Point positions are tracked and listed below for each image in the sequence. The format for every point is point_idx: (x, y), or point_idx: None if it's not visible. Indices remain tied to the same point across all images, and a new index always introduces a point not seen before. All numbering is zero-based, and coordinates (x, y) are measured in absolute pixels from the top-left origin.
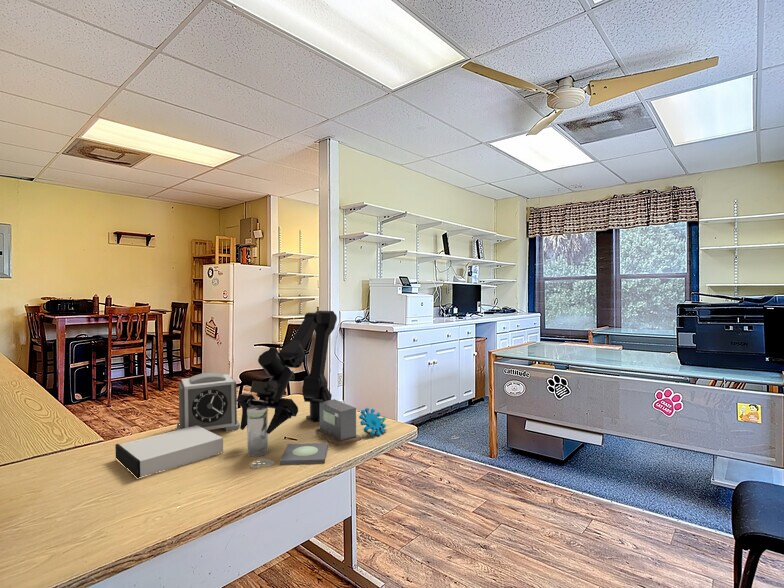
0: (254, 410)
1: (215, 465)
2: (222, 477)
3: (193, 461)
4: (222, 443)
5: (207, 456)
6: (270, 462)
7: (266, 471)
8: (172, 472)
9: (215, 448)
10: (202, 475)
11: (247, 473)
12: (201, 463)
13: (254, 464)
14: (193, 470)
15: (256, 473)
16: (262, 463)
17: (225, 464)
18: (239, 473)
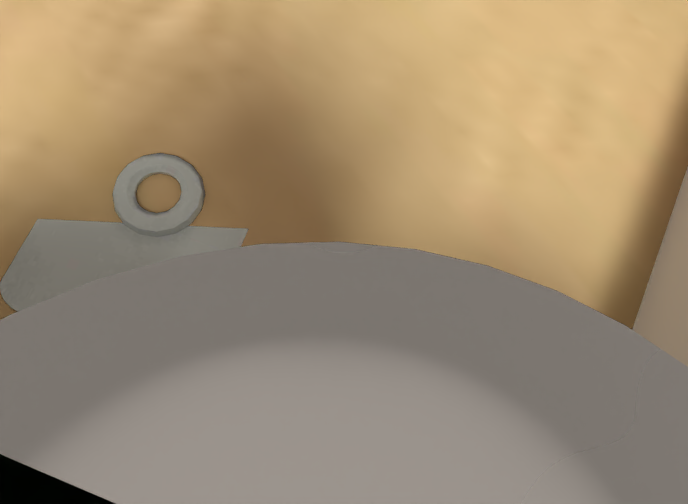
0: (241, 385)
1: (484, 156)
2: (307, 3)
3: (684, 182)
4: None
5: (658, 273)
6: (49, 291)
7: (15, 125)
8: (667, 25)
9: (674, 328)
10: (457, 12)
11: (159, 75)
12: (607, 169)
13: (174, 210)
14: (569, 65)
15: (86, 84)
16: (119, 257)
17: (423, 184)
18: (221, 67)
